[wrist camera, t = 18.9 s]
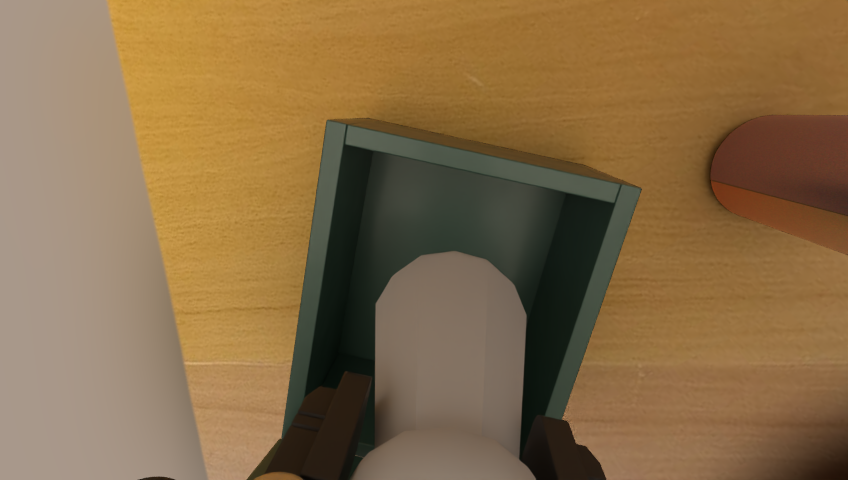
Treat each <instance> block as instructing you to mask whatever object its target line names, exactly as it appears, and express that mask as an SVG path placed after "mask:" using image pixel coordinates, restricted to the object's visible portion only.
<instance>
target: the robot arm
mask: <svg viewBox="0 0 848 480" xmlns="http://www.w3.org/2000/svg"><path fill="white" fill-rule="evenodd" d="M371 382H372V377H371V376H366V375H362V374H357V373H353V372H348V371H345V372H344V374H343V377H342V379H341V381H340V383H339V386H338V388H337V390H336V389H332V388H328V387H323V386H319V387H318V388H317V389H315V390H314V391H312V392H311V393H310V394H308V395H307V396H306V397H305V399H304V401H303V402H302V404H301V406H300V408H299V410H298V413H297V414H296V416H295V417H294V419H293V421H292V424H291V426H290V427H289V429H288V430H287V432H286V434H285V436H284V438H283V440H282V442H281V444H280V445H279V447H278V449H277V451H276V453H275V455H274V457H273V458H272V460H271V462H270V464H269V466H268V468H267V470H266V472H265V473H264V475H261V476H259V477H257V478H255V479H254V480H348V478H349V475H350V471H351V468H352V465H353V461H354V458H355V455H356V451H357V448H358V444H359V440H360V436H361V432H362V427H363V422H364V417H365V412H366V407H367V402H368V397H369V392H370V388H371ZM521 462H522V463H524V464H525V465H526V466H527V467H528V468H529V469H530V471H531V472H532V474H533V475H534V477H535V478H536V480H606V477H605V475H604V472H603V470H602V467H601V465H600V463H599V462H598V460H597V459H596V458H595V457H594V456H593V454H592V453H591V452H590V451H589V450H588V448H587V447H586V446H583V445H578V444H576V443H575V440H574V437H573V434H572V431H571V429H570V426H569V423H568V422H567V421H564V420H560V419H555V418H551V417H546V416H542V415H537V416H536V417H535V419H534V422H533V425H532V428H531V431H530V434H529V437H528V440H527V443H526V446H525V449H524V452H523V455H522V458H521ZM140 480H174V479H171V478H167V477H149V478H143V479H140Z"/></svg>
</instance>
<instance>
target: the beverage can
mask: <svg viewBox="0 0 848 480" xmlns="http://www.w3.org/2000/svg"><path fill="white" fill-rule="evenodd" d="M711 184H712V188H713V191H714V194H715V196H716V198H717V199H718V201H719V202H720V203H721V204H722V205H723V206H724V207H725V208H726V209H728V210H729V211H731V212H732V213H734V214H737V215H739V216H742V217H745V218H748V219H750V220H753V221H756V222H758V223H761V224H764V225H767V226H769V227H772V228H775V229H778V230H780V231H783V232H786V233H789V234H791V235H794V236H797V237H800V238H802V239H805V240H808V241H811V242H813V243H816V244H819V245H822V246H824V247H827V248H830V249H833V250H835V251H838V252H841V253H844V254H846V255H848V115H768V116H762V117H759V118H755V119H753V120H750V121H748V122H746V123H744V124H743V125H741V126H739V127H738V128H737V129H735V130H734V131H733V132H732V133H731V134H729V135H728V137H727V138H726V139H725V140H724V141H723V142H722V144H721V145H720V147H719V148H718V150H717V152H716V154H715V156H714V159H713V162H712V166H711Z"/></svg>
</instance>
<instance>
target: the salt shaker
mask: <svg viewBox="0 0 848 480" xmlns="http://www.w3.org/2000/svg"><path fill="white" fill-rule="evenodd" d="M526 318H527V315H526V313H525V310H524V308H523V305H522V303H521V300H520V298H519V295H518V293H517V290H516V288H515V285H514V284H513V283H512V282H511V281H510V280H509V279H508V278H507V277H506V276H504V275H503V274H502V273H501V272H500V271H499V270H498V269H497V268H496V267H495V266H493V265H492V264H491V263H490V262H489V261H488V260H486V259H483V258H479V257H475V256H472V255H468V254H464V253H461V252H457V251H450V252H442V253H435V254H427V255H421V256H420V257H418V258H417V259H415V260H414V261H413V262H411V263H410V264H408V265H407V266H405V267H404V268H403V269H401V270H400V271H398V272H397V273H396V274H394V275H393V276H392V277H391V279H390V281H389V282H388V284H387V286H386V287H385V289H384V291H383V292H382V294H381V296H380V298H379V299H378V301H377V303H376V320H375V449H373V450H372V451H370V452H369V453H368V454H367V455H366V456H365V457H364V458H363V459H362V460H361V462H360V463H359V465H358V466H357V468H356V469H355V471H354V473H353V474H352V476H351V477H350V479H349V480H536V478H535V477H534V475H533V474H532V472H531V471H530V469H529V468H528V467H527V466H526V465H525V464H524V463H522V462H521V461H520V460H519V453H520V434H521V414H522V395H523V376H524V357H525V337H526Z"/></svg>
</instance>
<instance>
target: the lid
mask: <svg viewBox="0 0 848 480" xmlns="http://www.w3.org/2000/svg"><path fill="white" fill-rule="evenodd" d="M282 440H283V439H279V440H278V441H277V443H276V444H275V445H274V446H273V447H272V449H271V450H270V451H269V452H268V454H267V455H266V456H265V457H264V459H263V460H262V461H261V462H260V464H259V465H258V466H257V467H256V469H255V470H254V471H253V472H252V474H251V475H250V476H249V477H248V479H247V480H254V479H255V478H257V477H259V476H261V475H264V473H265V472H266V470H267V468H268V466H269V464H270V462H271V460H272V458H273V457H274V455H275V453H276V451H277V449H278V447H279V445H280V444H281V442H282ZM362 459H363V457H359V456H355V458H354V461H353V465H352V468H351V471H350V475H349V478H348V480H349V479H350V477H351V476H352V474H353V473H354V471H355V469H356V468H357V466H358V465H359V463H360V462H361V460H362Z"/></svg>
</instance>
